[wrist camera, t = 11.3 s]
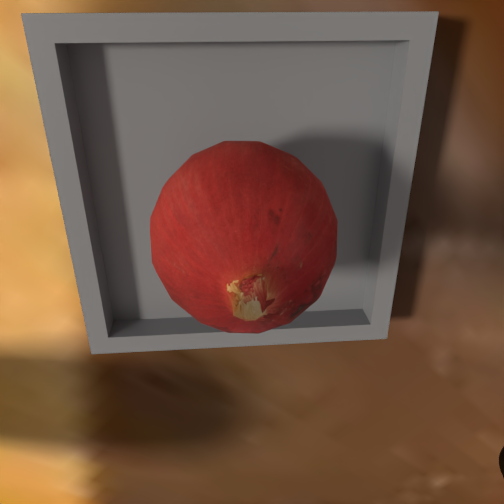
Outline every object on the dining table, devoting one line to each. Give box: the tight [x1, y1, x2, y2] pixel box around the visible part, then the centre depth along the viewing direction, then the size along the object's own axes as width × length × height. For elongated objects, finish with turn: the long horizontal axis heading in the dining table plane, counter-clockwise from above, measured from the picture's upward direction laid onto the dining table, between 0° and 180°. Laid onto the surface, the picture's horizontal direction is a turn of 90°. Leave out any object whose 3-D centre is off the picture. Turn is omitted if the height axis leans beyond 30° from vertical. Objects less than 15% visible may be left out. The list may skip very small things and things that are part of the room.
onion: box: [150, 141, 338, 334], centre depth 14 cm, size 6×6×8 cm
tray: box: [21, 12, 439, 354], centre depth 17 cm, size 13×13×2 cm
